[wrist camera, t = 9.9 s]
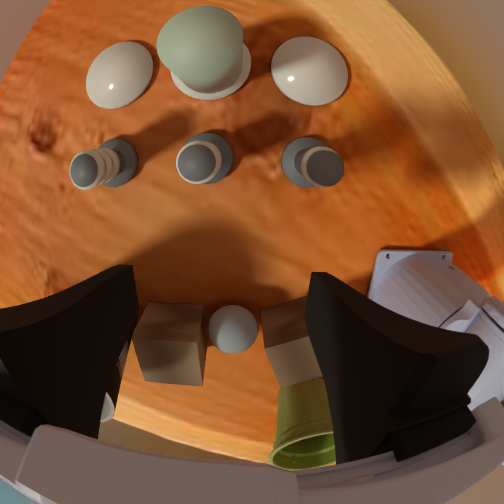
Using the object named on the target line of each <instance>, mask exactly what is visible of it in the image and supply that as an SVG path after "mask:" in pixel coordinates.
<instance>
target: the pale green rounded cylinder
mask: <svg viewBox="0 0 504 504" xmlns="http://www.w3.org/2000/svg"><path fill="white" fill-rule="evenodd" d="M157 53H158V56H159V58H160V60H161V61H162V63H163V64H164V65H165V66H166V67H167V68H168V69H169V70H170V71H171V72H172V73H174V74H175V75H176V76H177V77H178V78H179V79H180V80H181V81H182V82H183V83H184V84H185V85H186V86H187V87H188V88H190V89H191V90H193V91H195V92H198V93H204V94H212V93H217V92H221V91H223V90H225V89H227V88H229V87H230V86H231V85H233V84H234V83H235V82H236V80H237V79H238V77H239V76H240V73H241V71H242V62H243V30H242V26H241V24H240V22H239V21H238V19H237V18H236V17H235V16H234V15H232V14H231V13H230V12H228V11H226V10H224V9H222V8H218V7H213V6H198V7H193V8H189V9H186V10H184V11H182V12H180V13H178V14H176V15H175V16H173V17H172V18H171V19H170V20H169V21H168V22H167V23H166V24H165V25H164V26H163V28H162V29H161V31H160V33H159V36H158V39H157Z"/></svg>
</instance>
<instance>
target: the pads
mask: <svg viewBox="0 0 504 504" xmlns="http://www.w3.org/2000/svg"><path fill="white" fill-rule="evenodd" d="M250 69H251V56H250V53H249V50H248V48H247V47H246V45H245V44H244V43H243V62H242V71H241V73H240V76H239V77H238V79H237V80H236V82H235V83H234V84H233V85H231V86H230V87H229V88H227V89H225V90H223V91H221V92H217V93H212V94H204V93H198V92H195V91H193V90H191V89H190V88H188V87H187V86H186V85H185V84H184V83H183V82H182V81H181V80H180V79H179V78H178V77H177V76H176V75H175V74H174V73H172V72H171V76H172V79H173V81H174V83H175V84H176V86H177V87H178V88H179V89H180V90H181V91H182V92H183V93H185V94H186V95H188V96H190V97H192V98H195V99H199V100H217V99H221V98H224V97H227V96H229V95H231V94H232V93H234V92H235V91H237V90H238V89H239V88H240V87H241V86H242V85H243V84H244V83H245V81H246V79H247V78H248V75H249V73H250ZM271 73H272V77H273V80H274V82H275V84H276V85H277V87H278V88H279V89H280V91H281V92H282V93H283V94H284V95H285V96H287V97H288V98H290V99H291V100H293V101H295V102H297V103H300V104H303V105H308V106H319V105H324V104H327V103H330V102H332V101H334V100H335V99H337V98H338V97H339V96H340V95H341V94H342V93H343V91H344V90H345V88H346V85H347V81H348V70H347V66H346V63H345V61H344V59H343V57H342V56H341V54H340V53H339V52H338V51H337V50H336V49H335V48H334V47H333V46H331V45H330V44H328V43H327V42H325V41H323V40H320V39H317V38H314V37H296V38H292V39H290V40H287V41H286V42H284V43H283V44H281V45H280V46H279V47H278V49H277V50H276V52H275V53H274V56H273V58H272V62H271ZM152 74H153V59H152V56H151V54H150V53H149V51H148V50H147V49H146V48H145V47H144V46H142V45H141V44H139V43H136V42H130V41H125V42H120V43H116V44H114V45H112V46H110V47H108V48H107V49H105V50H104V51H103V52H101V53H100V54H99V55H98V56H97V58H96V59H95V60H94V62H93V63H92V65H91V67H90V69H89V71H88V74H87V79H86V90H87V93H88V96H89V98H90V99H91V101H92V102H93V103H94V104H96V105H97V106H99V107H102V108H107V109H117V108H122V107H124V106H127V105H129V104H130V103H132V102H134V101H135V100H136V99H137V98H138V97H139V96H141V94H142V93H143V92H144V91H145V89H146V88H147V86H148V85H149V83H150V80H151V78H152Z"/></svg>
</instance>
